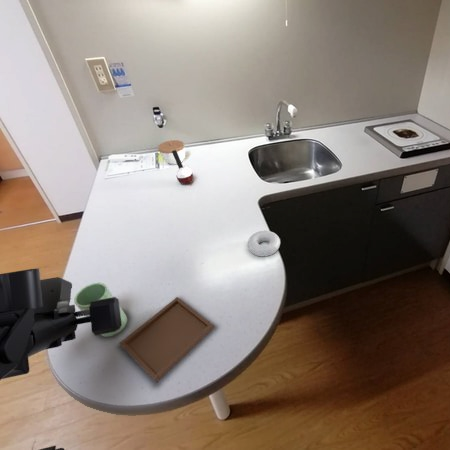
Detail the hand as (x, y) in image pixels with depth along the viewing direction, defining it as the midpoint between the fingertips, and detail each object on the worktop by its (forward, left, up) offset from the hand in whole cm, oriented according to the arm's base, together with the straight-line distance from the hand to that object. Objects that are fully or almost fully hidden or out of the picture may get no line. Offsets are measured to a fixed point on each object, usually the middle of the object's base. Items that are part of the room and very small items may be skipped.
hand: (87, 314), depth 64 cm
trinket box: (+63, +61, -11) cm, 88 cm away
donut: (+45, -8, -11) cm, 47 cm away
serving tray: (+9, -10, -11) cm, 18 cm away
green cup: (+3, +4, -11) cm, 12 cm away
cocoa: (+55, +43, -11) cm, 70 cm away
